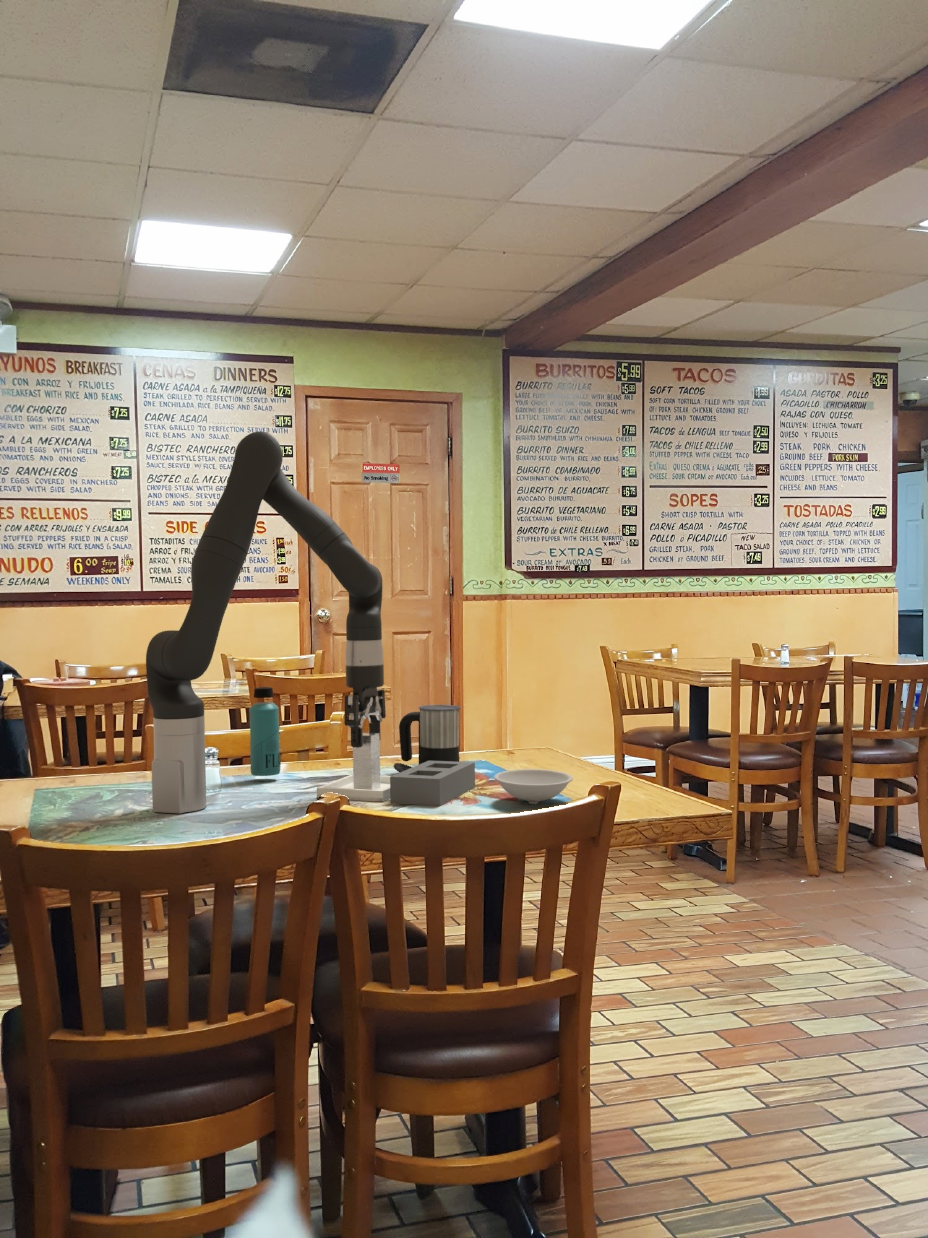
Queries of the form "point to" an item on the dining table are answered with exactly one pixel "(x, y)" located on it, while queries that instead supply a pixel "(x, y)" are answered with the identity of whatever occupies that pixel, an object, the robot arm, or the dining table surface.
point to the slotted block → (432, 783)
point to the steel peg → (367, 763)
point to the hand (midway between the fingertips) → (366, 744)
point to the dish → (533, 783)
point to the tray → (347, 788)
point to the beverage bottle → (264, 735)
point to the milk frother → (431, 734)
